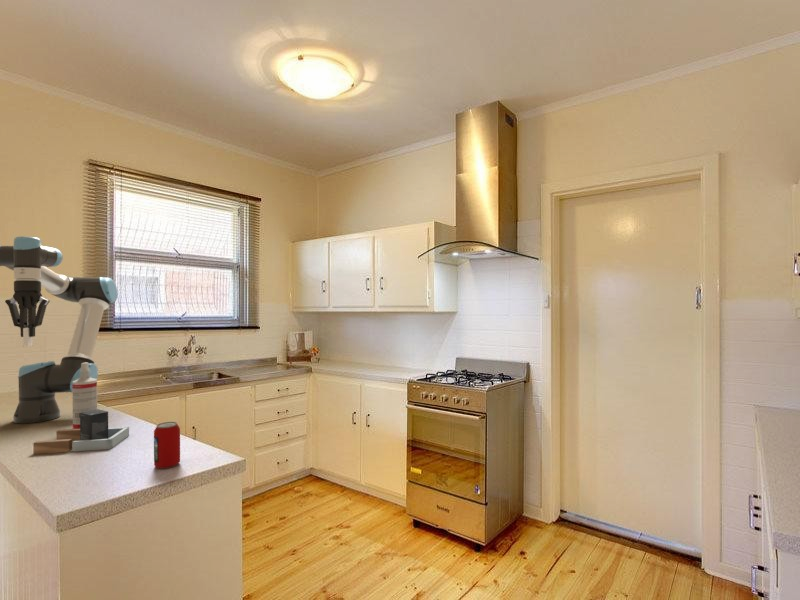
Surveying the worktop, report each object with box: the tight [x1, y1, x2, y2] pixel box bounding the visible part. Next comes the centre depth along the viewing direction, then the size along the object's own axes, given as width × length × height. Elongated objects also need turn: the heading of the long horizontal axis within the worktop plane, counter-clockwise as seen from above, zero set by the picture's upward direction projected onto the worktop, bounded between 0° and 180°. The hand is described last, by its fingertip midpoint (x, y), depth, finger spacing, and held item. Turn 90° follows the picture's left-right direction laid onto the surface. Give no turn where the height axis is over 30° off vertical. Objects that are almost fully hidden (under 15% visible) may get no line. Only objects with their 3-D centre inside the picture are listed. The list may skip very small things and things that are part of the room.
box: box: [79, 408, 109, 441], centre depth 152 cm, size 8×6×11 cm
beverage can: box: [153, 421, 181, 470], centre depth 130 cm, size 7×7×12 cm
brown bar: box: [32, 428, 80, 455], centre depth 149 cm, size 15×10×4 cm, turn 11°
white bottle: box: [72, 362, 98, 429], centre depth 169 cm, size 8×8×25 cm
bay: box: [72, 426, 130, 452], centre depth 151 cm, size 15×11×3 cm
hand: (28, 346), depth 159 cm, fingers closed
